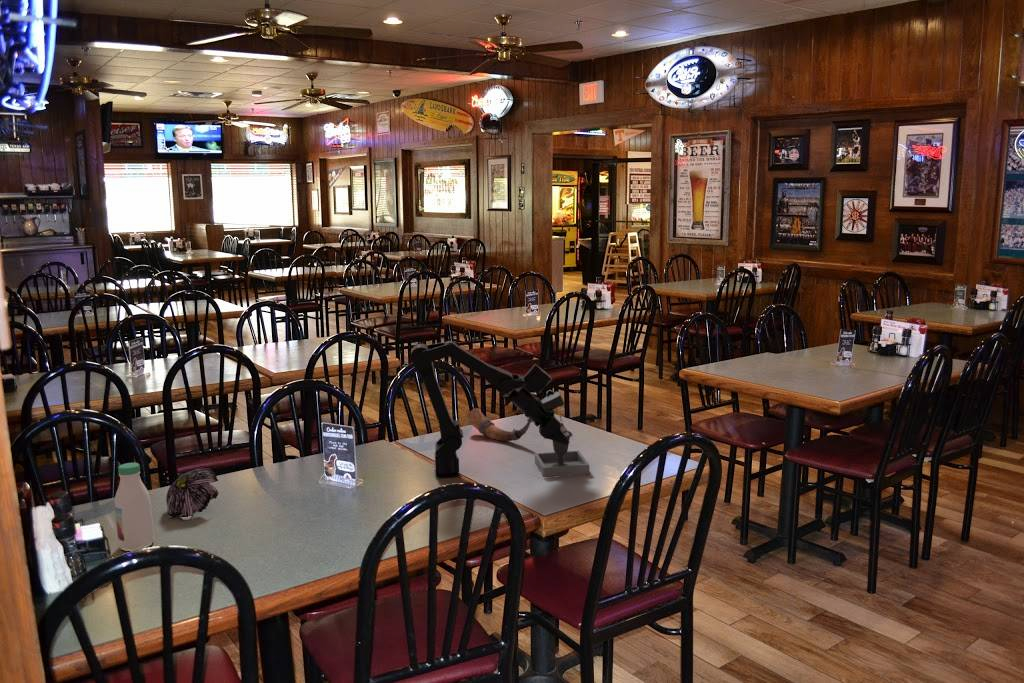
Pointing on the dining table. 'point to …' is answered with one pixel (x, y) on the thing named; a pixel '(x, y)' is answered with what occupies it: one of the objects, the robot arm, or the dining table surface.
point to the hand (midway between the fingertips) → (565, 438)
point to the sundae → (561, 446)
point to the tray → (574, 467)
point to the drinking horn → (494, 427)
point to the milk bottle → (133, 509)
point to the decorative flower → (191, 492)
